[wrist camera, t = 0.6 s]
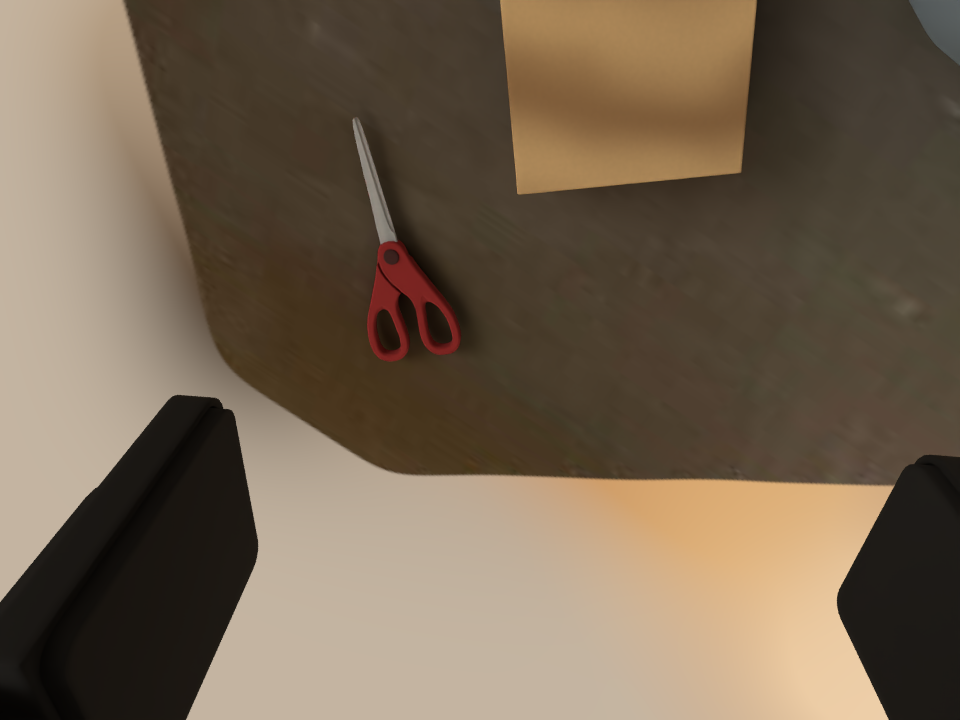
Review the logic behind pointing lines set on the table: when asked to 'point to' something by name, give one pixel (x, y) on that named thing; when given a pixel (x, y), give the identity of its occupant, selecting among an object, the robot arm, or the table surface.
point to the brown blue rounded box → (941, 24)
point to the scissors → (398, 274)
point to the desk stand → (626, 89)
